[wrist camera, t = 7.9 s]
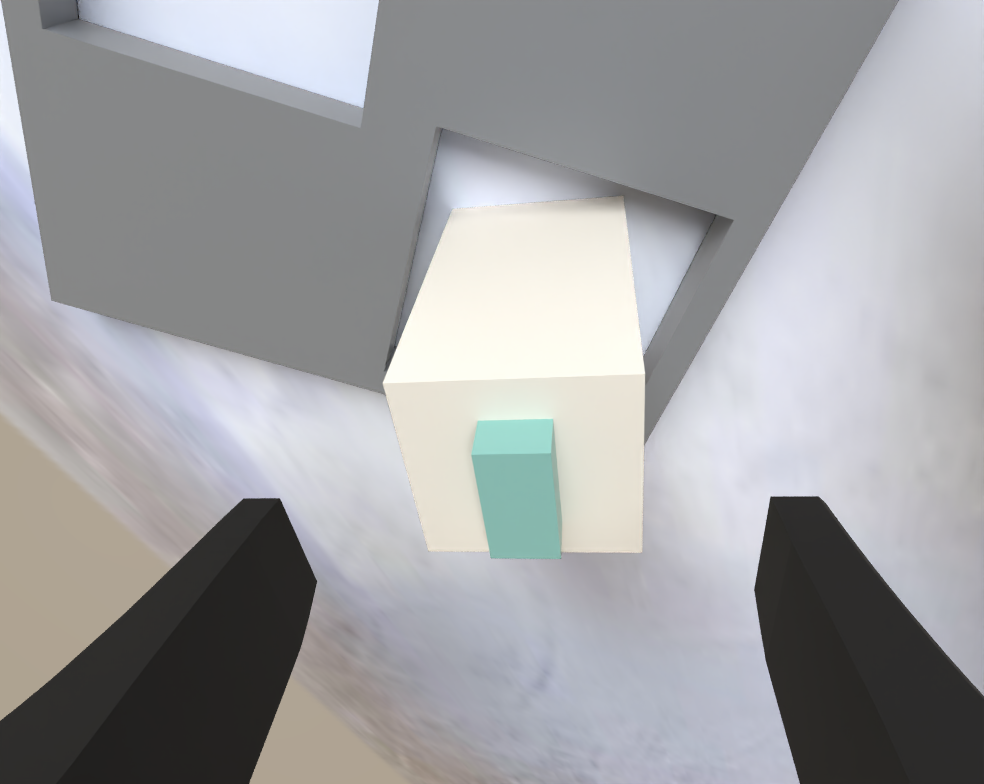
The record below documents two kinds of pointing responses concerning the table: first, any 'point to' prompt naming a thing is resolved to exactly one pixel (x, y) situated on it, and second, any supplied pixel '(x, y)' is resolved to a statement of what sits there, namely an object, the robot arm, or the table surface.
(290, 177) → the socket panel
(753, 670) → the table surface
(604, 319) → the plug
